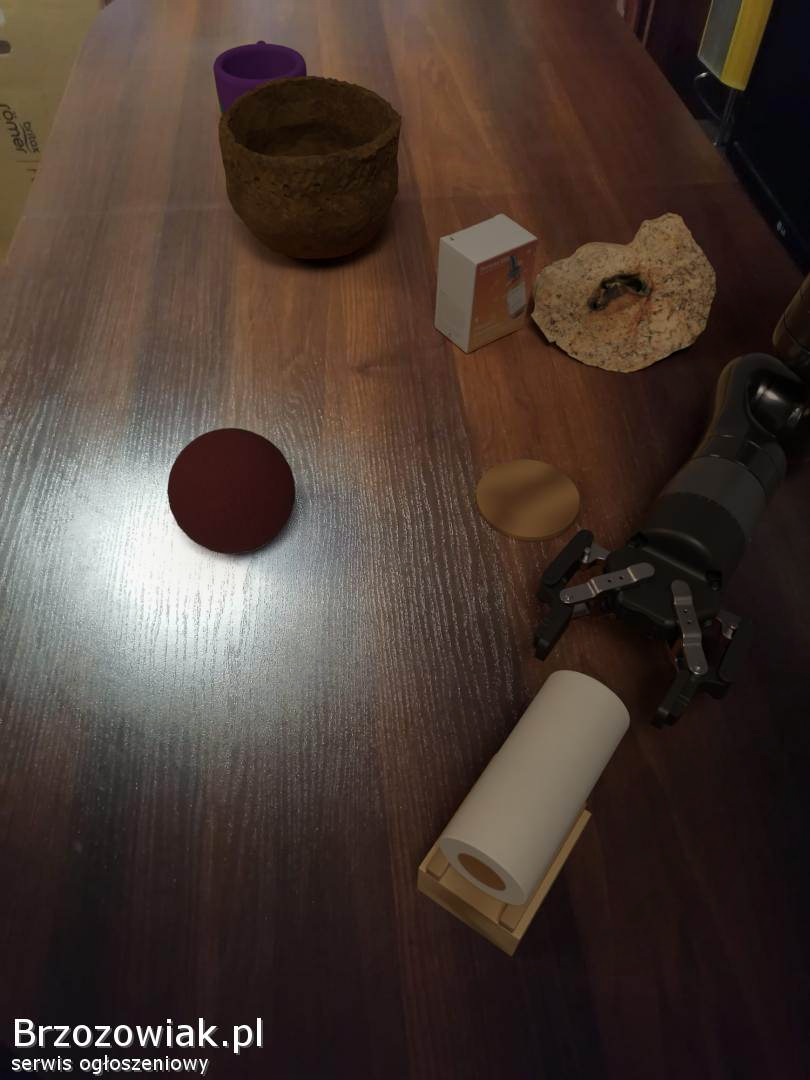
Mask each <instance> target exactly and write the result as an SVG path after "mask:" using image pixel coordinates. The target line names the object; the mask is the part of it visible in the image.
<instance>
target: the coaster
mask: <svg viewBox="0 0 810 1080" xmlns="http://www.w3.org/2000/svg"><path fill="white" fill-rule="evenodd" d="M475 504H476V509H477V511H478V513H479V515H480V517H481V519H483V521H484V522H485V523H486V524H487V525H488V526H489V527H490V528H491V529H493V530H494V531H496V532H497V533H499V534H501V535H503V536H505V537H508V538H511V539H514V540H518V541H525V542H540V541H541V542H542V541H547V540H550V539H554V538H557V537H558V536H560V535H562V534H564V533H565V532H567V531H568V530H569V529H570V528H571V527H572V526H573V525H574V523H575V521H576V520H577V518H578V514H579V511H580V507H581V497H580V493H579V491H578V488H577V486H576V485H575V483H574V482H573V480H572V479H571V478H570V477H569V476H568V475H567V474H566V473H565V472H563V471H562V470H561V469H559V468H557V467H555V466H554V465H552V464H549V463H547V462H545V461H544V462H543V461H541V460H540V461H539V460H535V459H528V458H527V459H526V458H525V459H524V458H519V459H511V460H506V461H502V462H500V463H498V464H496V465H494V466H491V468H489V469H488V470H486V472H485V473H484V474H483V475H482V476H481V477H480V479H479V481H478V483H477V485H476V490H475Z"/></svg>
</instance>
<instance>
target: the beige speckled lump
mask: <svg viewBox="0 0 810 1080" xmlns="http://www.w3.org/2000/svg"><path fill="white" fill-rule="evenodd" d="M716 275H717V274H716V271H715V268H713V265H712V264H711V263H710V261H709V260H708V258H707V256H706V254H705V252H704V251H703V249H702V247H701V246H700V245H698V244H697V243H696V240H695V239H694V238H693V236H692V232H691V231H690V230H689V229H688V227H687V225H686V224H685V222H684V220H683V217H682V216H681V215H678V214H676V213H671V212H667V213H665V214H663V215H662V216H660V217H658V218H654V219H645V220H644V221H643V222H642V223H641V225H640V227H639V229H638V231H637V233H636V234H635V235H634V239H633V240H632V241H631V242H629V243H628V244H619V243H610V242H604V241H593V242H587V243H585V244H583V245H581V246H580V247H578V248H577V249H576V250H575V252H574V253H573V254H571V255H570V256H569V257H566V258H562V259H559V260H557V261H552V264H546V265H544V266H543V267H541V274H539V273H538V274H537V276H536V278H535V280H534V281H533V285H532V286H533V290H532V292H531V293H532V298H533V302H534V309H533V312H532V313H531V314H530V317H531V318H532V319H533V321H534V322H535V324H536V325H537V326H538V328H539V329H540V330H541V332H542V333H543V334H544V336H545V337H546V339H547V340H548V342H549V344H551V343H552V342H553V343H554V342H555V344H556V346H558V347H559V348H560V349H561V350H563V351H565V352H567V355H568V356H570V357H571V358H574V359H576V360H577V361H579V362H582V363H583V364H584V365H588V366H592V367H598V368H601V369H602V370H605V371H613V372H620V373H626V374H628V373H631V372H635V371H638V370H642V369H643V370H644V369H645V368H647V367H649V366H651V365H653V364H655V363H656V362H659V361H660V360H663V359H664V358H667V357H668V356H670V355H671V354H672V353H674V352H675V353H676V351H679V350H682V349H685V348H688V347H689V346H691V345H694V344H695V342H696V340H697V339H698V337H699V336H700V335H701V333H702V332H703V331H705V329H706V327H707V321H708V320H709V315H710V311H711V308H712V305H711V304H712V303H713V300H714V298H715V294H717V287H716V284H717V280H716V279H717V277H716Z"/></svg>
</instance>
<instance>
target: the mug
mask: <svg viewBox="0 0 810 1080" xmlns="http://www.w3.org/2000/svg"><path fill="white" fill-rule="evenodd" d="M212 66H213V68H212V69H213V75H214V82H215V89H216V94H217V99H218V105H219V110H220V116H222V114H223V113H224V112H225V111H226V110H228V109H229V107H230V106H231V105H232V103H233V102H234V101H235V100H236V98H237V97H238V96H240V95H243V94H244V93H245V92H247V91H248V90H250V89H253V88H256V87H257V86H258V85H260V84H263V83H266V82H268V81H270V80H272V79H274V80H277V79H279V78H283V77H290V76H291V77H299V76H308V73H307V71H308V70H307V62H306V61H305V58H304V57H303V55H302V54H301V53H300V52H299V51H297V50H295V49H293V48H292V47H288V46H285V45H282V44H281V45H280V44H275V43H266V41H264V40H257V42H256V43H249V44H244V45H238V46H235V47H232V48H229V49H227V50H225V51H223V52H221V53H220V54H219V55H218V56H217V57H216V58H215V60H214V63H213V65H212Z"/></svg>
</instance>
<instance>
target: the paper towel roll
mask: <svg viewBox="0 0 810 1080" xmlns="http://www.w3.org/2000/svg"><path fill="white" fill-rule="evenodd" d="M630 723H631V718H630V714H629V711H628V709H627V707H626V706H625V704H624V703H623V701H622V700H621V699H620V698H619V696H618V695H617V694H616V693H614V691H613V690H611V689H610V688H609V687H607V686H606V685H605V684H604V683H602V682H601V681H599V680H597V679H595V678H593V677H592V676H589V675H587V674H585V673H581V672H578V671H575V670H568V669H562V670H556V671H554V672H552V673H551V674H550V675H548V677H547V679H546V681H544V683H543V685H542V686H541V688H540V689H539V691H538V692H537V694H535V697H534V698H533V700H532V701H531V703H530V704H529V705H528V707H527V709H526V710H525V712H524V713H523V714H522V715H521V717H520V719H519V720H518V722H517V724H516V725H515V726H514V727H513V729H512V730H511V732H510V734H509V735H508V737H507V738H506V739H505V741H504V743H503V744H502V746H501V747H500V748H499V750H498V751H497V753H496V754H497V755H496V756H495V758H494V759H493V761H492V762H491V764H490V765H489V767H488V768H487V769H486V768H485V769H486V771H485V772H484V774H483V775H482V777H481V778H480V780H479V781H478V783H477V784H476V786H475V787H474V789H473V790H472V792H471V793H470V795H469V796H468V798H467V799H466V801H465V802H464V804H463V805H462V807H461V808H460V810H459V811H458V813H457V814H456V816H455V817H454V819H453V820H452V822H451V823H450V824H449V826H448V827H447V829H446V830H445V832H444V833H443V835H442V836H441V838H440V840H439V846H440V849H441V851H442V853H443V855H444V856H445V857H446V859H447V860H448V861H449V862H450V864H451V865H452V866H453V867H454V868H455V869H456V870H457V871H458V872H459V873H460V874H461V875H462V876H464V877H465V878H466V879H467V880H468V881H470V882H471V883H472V884H474V885H475V886H476V887H478V888H479V889H481V890H482V891H484V892H485V893H487V894H489V895H491V896H492V897H494V898H496V899H498V900H501V901H503V902H505V903H508V904H512V905H518V906H520V905H524V904H525V903H526V902H527V901H528V899H529V897H530V896H531V894H532V892H533V891H534V889H535V887H536V885H537V884H538V882H539V880H540V878H541V877H542V875H543V873H544V872H545V870H546V868H547V866H548V865H549V863H550V861H551V860H552V858H553V856H554V854H555V853H556V851H557V849H558V848H559V846H560V844H561V842H562V841H563V839H564V837H565V835H566V834H567V832H568V830H569V829H570V827H571V825H572V823H573V822H574V820H575V818H576V817H577V815H578V813H579V811H580V810H581V808H582V806H583V805H584V803H585V802H586V801H587V799H588V798H589V796H590V794H591V792H592V791H593V789H594V787H595V786H596V784H597V783H598V780H599V779H600V777H601V776H602V774H603V772H604V770H605V769H606V767H607V765H608V764H609V761H610V760H611V758H612V757H613V755H614V753H615V751H616V750H617V748H618V746H619V744H620V743H621V741H622V739H623V737H624V736H625V734H626V732H627V730H628V729H629V728H630Z"/></svg>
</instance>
